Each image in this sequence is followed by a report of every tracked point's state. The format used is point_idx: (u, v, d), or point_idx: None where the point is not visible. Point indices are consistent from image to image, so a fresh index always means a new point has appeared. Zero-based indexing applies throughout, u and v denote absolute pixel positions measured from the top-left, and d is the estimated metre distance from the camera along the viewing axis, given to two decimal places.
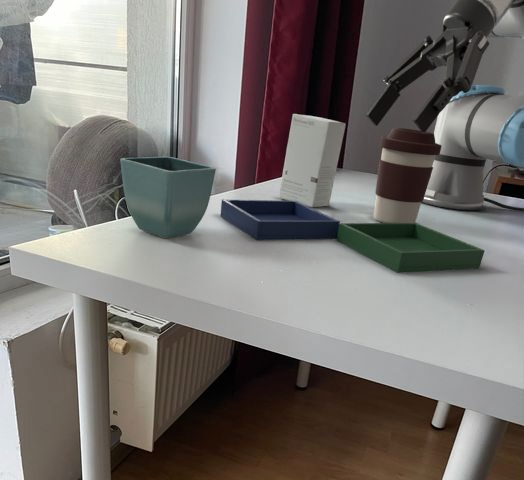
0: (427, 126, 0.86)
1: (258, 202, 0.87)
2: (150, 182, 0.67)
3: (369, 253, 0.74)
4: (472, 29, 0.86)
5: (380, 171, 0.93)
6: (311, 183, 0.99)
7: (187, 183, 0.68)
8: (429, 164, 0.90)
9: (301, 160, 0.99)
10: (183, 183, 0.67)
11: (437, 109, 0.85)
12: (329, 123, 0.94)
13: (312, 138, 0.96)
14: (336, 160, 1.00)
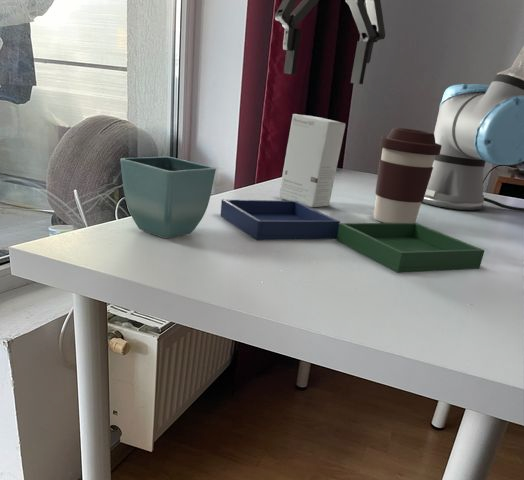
0: (291, 68, 0.90)
1: (258, 202, 0.87)
2: (150, 182, 0.67)
3: (369, 253, 0.74)
4: None
5: (380, 171, 0.93)
6: (311, 183, 0.99)
7: (187, 183, 0.68)
8: (429, 164, 0.90)
9: (301, 160, 0.99)
10: (183, 183, 0.67)
11: (287, 50, 0.89)
12: (329, 123, 0.94)
13: (312, 138, 0.96)
14: (336, 160, 1.00)
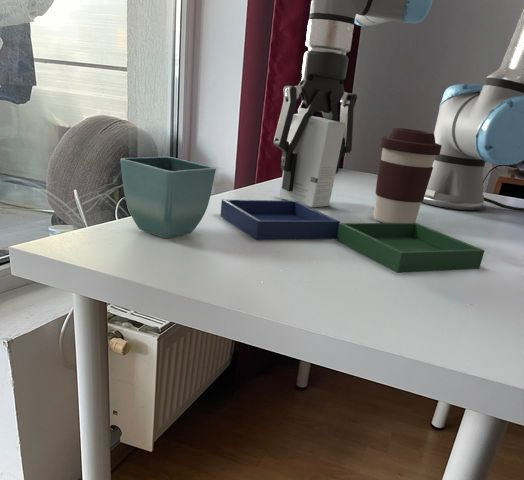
0: (288, 186, 1.00)
1: (258, 202, 0.87)
2: (150, 182, 0.67)
3: (369, 253, 0.74)
4: (302, 76, 0.94)
5: (380, 171, 0.93)
6: (311, 183, 0.99)
7: (187, 183, 0.68)
8: (429, 164, 0.90)
9: (300, 160, 0.99)
10: (182, 183, 0.67)
11: (285, 170, 0.99)
12: (329, 123, 0.94)
13: (312, 138, 0.96)
14: (336, 160, 1.00)
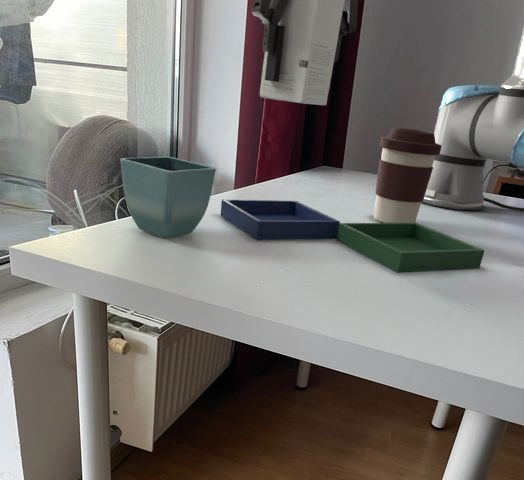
0: (273, 73, 0.74)
1: (258, 202, 0.87)
2: (150, 182, 0.67)
3: (369, 253, 0.74)
4: None
5: (380, 171, 0.93)
6: (300, 69, 0.73)
7: (187, 183, 0.68)
8: (429, 164, 0.90)
9: (286, 38, 0.73)
10: (183, 183, 0.67)
11: (268, 51, 0.73)
12: None
13: (300, 3, 0.70)
14: (335, 38, 0.73)
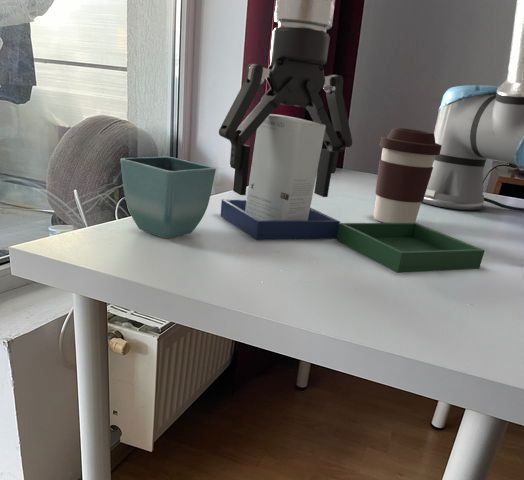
0: (240, 188, 0.77)
1: None
2: (150, 182, 0.67)
3: (369, 253, 0.74)
4: (271, 60, 0.73)
5: (380, 171, 0.93)
6: (281, 200, 0.78)
7: (187, 183, 0.68)
8: (429, 164, 0.90)
9: (269, 171, 0.78)
10: (182, 183, 0.67)
11: None
12: (302, 124, 0.73)
13: (282, 143, 0.76)
14: (314, 171, 0.79)
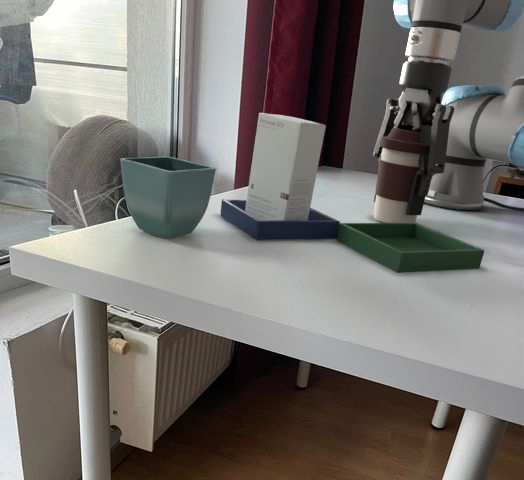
0: (420, 210, 0.92)
1: None
2: (150, 182, 0.67)
3: (369, 253, 0.74)
4: (432, 92, 0.85)
5: (380, 171, 0.93)
6: (281, 200, 0.78)
7: (187, 183, 0.68)
8: None
9: (269, 171, 0.78)
10: (183, 183, 0.67)
11: (422, 195, 0.91)
12: (302, 124, 0.73)
13: (282, 143, 0.76)
14: (314, 171, 0.79)
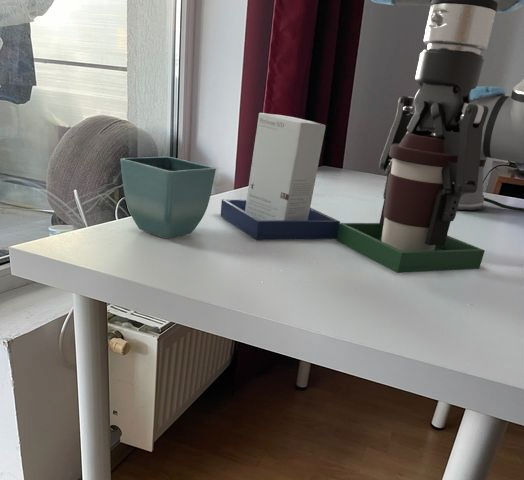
0: (444, 238, 0.72)
1: None
2: (150, 182, 0.67)
3: (369, 253, 0.74)
4: (459, 89, 0.65)
5: (390, 188, 0.73)
6: (281, 200, 0.78)
7: (187, 183, 0.68)
8: None
9: (269, 171, 0.78)
10: (183, 183, 0.67)
11: (448, 220, 0.70)
12: (302, 124, 0.73)
13: (282, 143, 0.76)
14: (314, 171, 0.79)
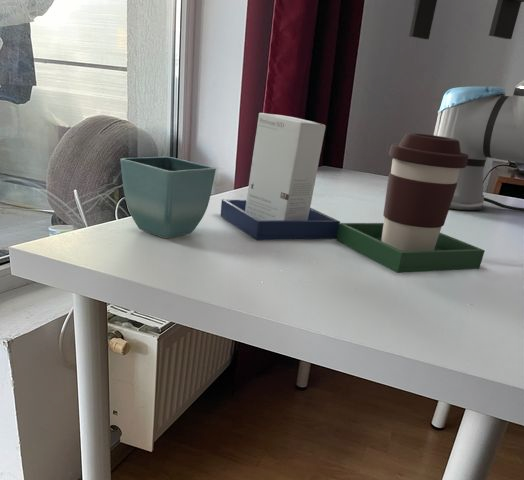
0: (511, 29, 0.61)
1: None
2: (150, 182, 0.67)
3: (369, 253, 0.74)
4: None
5: (390, 188, 0.73)
6: (281, 200, 0.78)
7: (187, 183, 0.68)
8: (453, 179, 0.70)
9: (269, 171, 0.78)
10: (183, 183, 0.67)
11: (518, 1, 0.59)
12: (302, 124, 0.73)
13: (282, 143, 0.76)
14: (314, 171, 0.79)
